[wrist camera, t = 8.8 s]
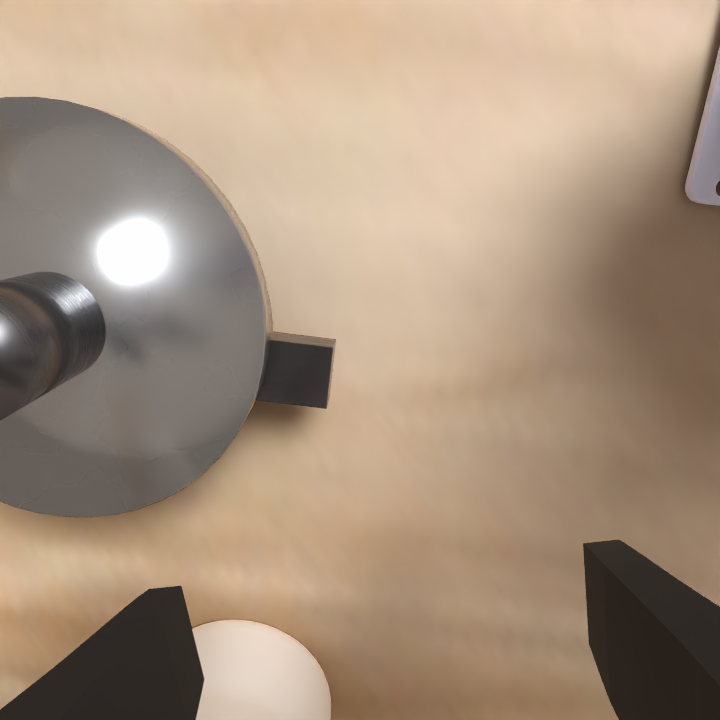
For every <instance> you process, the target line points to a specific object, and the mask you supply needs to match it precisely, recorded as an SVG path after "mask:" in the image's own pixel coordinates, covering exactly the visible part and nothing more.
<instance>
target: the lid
mask: <svg viewBox="0 0 720 720" xmlns="http://www.w3.org/2000/svg"><path fill="white" fill-rule="evenodd" d="M270 336H271V323H270V304H269V299H268V293H267V287H266V282H265V277H264V274H263V271H262V268H261V264H260V261H259V258H258V255H257V252H256V250H255V248H254V245H253V243H252V241H251V239H250V237H249V234H248V232H247V230H246V228H245V226H244V224H243V223H242V221H241V219H240V218H239V216H238V215H237V213H236V211H235V210H234V208H233V206H232V205H231V203H230V202H229V200H228V199H227V198H226V197H225V195H224V194H223V193H222V192H221V190H220V189H219V188H218V187H217V185H216V184H215V183H214V182H213V180H212V179H211V178H210V177H209V176H208V175H207V174H206V173H205V172H204V171H203V170H202V169H200V168H199V167H198V166H197V165H196V164H195V163H194V162H193V161H192V160H191V159H190V158H189V157H188V156H186V155H185V154H184V153H182V152H181V151H180V150H178V149H177V148H176V147H174V146H173V145H172V144H170V143H169V142H168V141H166V140H165V139H163V138H161V137H160V136H158V135H156V134H154V133H153V132H151V131H149V130H147V129H146V128H144V127H142V126H140V125H138V124H136V123H133V122H131V121H128V120H126V119H124V118H121V117H119V116H117V115H114V114H111V113H108V112H104V111H101V110H98V109H94V108H90V107H87V106H83V105H79V104H76V103H72V102H68V101H63V100H55V99H48V98H40V97H5V98H0V502H3V503H5V504H8V505H11V506H14V507H17V508H21V509H25V510H29V511H33V512H37V513H41V514H48V515H56V516H63V517H97V516H107V515H116V514H120V513H124V512H128V511H133V510H137V509H140V508H143V507H146V506H148V505H151V504H153V503H156V502H159V501H161V500H163V499H165V498H167V497H169V496H171V495H173V494H174V493H176V492H178V491H180V490H182V489H184V488H185V487H186V486H188V485H189V484H190V483H192V482H193V481H194V480H196V479H197V478H198V477H200V476H201V475H202V474H203V473H205V472H206V471H207V470H208V469H209V468H210V467H211V466H212V465H213V464H214V463H215V462H216V461H217V460H218V459H219V458H220V457H221V455H222V454H223V453H224V451H225V450H226V449H227V447H228V446H229V445H230V443H231V442H232V441H233V439H234V438H235V437H236V435H237V433H238V432H239V430H240V428H241V427H242V425H243V423H244V421H245V420H246V418H247V416H248V414H249V412H250V411H251V409H252V407H253V405H254V403H255V401H256V398H257V396H258V393H259V390H260V388H261V385H262V382H263V379H264V375H265V370H266V366H267V362H268V357H269V347H270Z"/></svg>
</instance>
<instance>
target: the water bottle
mask: <svg viewBox="0 0 720 720" xmlns="http://www.w3.org/2000/svg"><path fill="white" fill-rule="evenodd" d="M192 631H193V635H194V639H195V643H196V647H197V651H198V655H199V659H200V663H201V667H202V671H203V675H204V684H203V689H202V693H201V698H200V703H199V707H198V712H197V716H196V720H330V718H331V697H330V691H329V686H328V683H327V680H326V677H325V675H324V672H323V670H322V668H321V667H320V665H319V663H318V662H317V660H316V659H315V658H314V656H313V655H312V654H311V653H310V652H309V651H308V650H307V649H306V648H305V647H304V646H303V645H302V644H301V643H300V642H298V641H297V640H296V639H294V638H293V637H291V636H290V635H288V634H286V633H285V632H283V631H281V630H279V629H276V628H274V627H272V626H269V625H266V624H262V623H259V622H254V621H248V620H220V621H214V622H210V623H206V624H203V625H200V626H197V627H195V628H193V629H192Z"/></svg>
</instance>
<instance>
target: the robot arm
mask: <svg viewBox="0 0 720 720" xmlns="http://www.w3.org/2000/svg"><path fill="white" fill-rule="evenodd" d="M719 181H720V47H719V51H718V55H717V59H716V63H715V67H714V71H713V75H712V79H711V83H710V87H709V91H708V95H707V99H706V103H705V107H704V111H703V115H702V119H701V123H700V127H699V131H698V136H697V140H696V144H695V148H694V152H693V156H692V160H691V164H690V168H689V172H688V176H687V180H686V184H685V192H686V194H687V197H688V198H689V199H690V200H691V201H693V202H696V203H702V204H710V205H718V206H720V196H718V194H717V193H716V185H717V183H718V182H719ZM583 547H584V564H585V582H586V599H587V617H588V635H589V645H590V648H591V650H592V653H593V656H594V659H595V662H596V665H597V667H598V670H599V673H600V676H601V679H602V681H603V684H604V687H605V689H606V692H607V695H608V697H609V700H610V702H611V704H612V706H613V708H614V711H615V713H616V715H617V717H618V719H619V720H720V607H719V606H717V605H716V604H714V603H713V602H711V601H710V600H708V599H707V598H705V597H703V596H702V595H700V594H699V593H697V592H696V591H694V590H693V589H691V588H690V587H688V586H687V585H685V584H684V583H682V582H681V581H679V580H678V579H676V578H675V577H673V576H672V575H671V574H669V573H668V572H666V571H665V570H663V569H662V568H660V567H659V566H657V565H656V564H655V563H653V562H652V561H650V560H649V559H647V558H646V557H644V556H643V555H641V554H640V553H639V552H637V551H636V550H634V549H633V548H631V547H630V546H628V545H627V544H625V543H624V542H622V541H620V540H612V541H602V542H593V543H583ZM203 684H204V675H203V671H202V667H201V663H200V659H199V655H198V651H197V647H196V643H195V639H194V635H193V631H192V627H191V623H190V619H189V615H188V611H187V607H186V603H185V599H184V595H183V591H182V587H181V586H175V587H165V588H155V589H149V590H147V591H146V592H145V593H143V594H142V595H140V596H139V597H138V598H136V599H135V600H134V601H133V602H131V603H130V604H129V605H128V606H126V607H125V608H124V609H123V610H122V611H120V612H119V613H118V614H117V615H116V616H115V617H113V618H112V619H111V620H110V621H109V622H107V623H106V624H105V625H104V626H103V627H102V628H100V629H99V630H98V631H97V632H96V633H95V634H93V635H92V636H91V637H90V638H89V639H87V640H86V641H85V642H84V643H83V644H81V645H80V646H79V647H78V648H77V649H76V650H74V651H73V652H72V653H71V654H70V655H68V656H67V657H66V658H65V659H64V660H62V661H61V662H60V663H59V664H58V665H56V666H55V667H54V668H53V669H51V670H50V671H49V672H48V673H46V674H45V675H44V676H43V677H41V678H40V679H39V680H38V681H36V682H35V683H34V684H32V685H31V686H30V687H29V688H27V689H26V690H25V691H24V692H22V693H21V694H20V695H18V696H17V697H16V698H15V699H13V700H12V701H11V702H10V703H8V704H7V705H6V706H4V707H3V708H2V709H1V710H0V720H196V716H197V712H198V707H199V703H200V698H201V693H202V689H203Z"/></svg>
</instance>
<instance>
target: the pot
mask: <svg viewBox="0 0 720 720" xmlns="http://www.w3.org/2000/svg"><path fill="white" fill-rule="evenodd" d="M267 293H268V292H267ZM268 299H269V296H268ZM269 304H270V300H269ZM270 323H271V336H270V347H269V357H268V362H267V366H266V370H265V375H264V379H263V382H262V385H261V388H260V390H259V393H258V396H257V398H256V400H261V401H269V402H277V403H285V404H293V405H301V406H309V407H317V408H325V409H326V408H327V405H328V401H329V396H330V387H331V379H332V370H333V361H334V352H335V343H336V339H328V338H320V337H312V336H304V335H296V334H288V333H280V332H272V327H273V322H272V313H271V304H270Z"/></svg>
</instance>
